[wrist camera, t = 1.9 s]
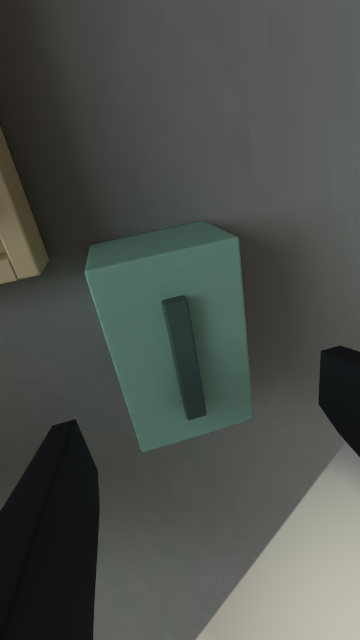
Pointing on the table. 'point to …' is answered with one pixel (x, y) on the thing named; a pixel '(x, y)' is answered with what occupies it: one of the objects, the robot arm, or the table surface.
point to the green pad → (175, 329)
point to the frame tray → (17, 226)
